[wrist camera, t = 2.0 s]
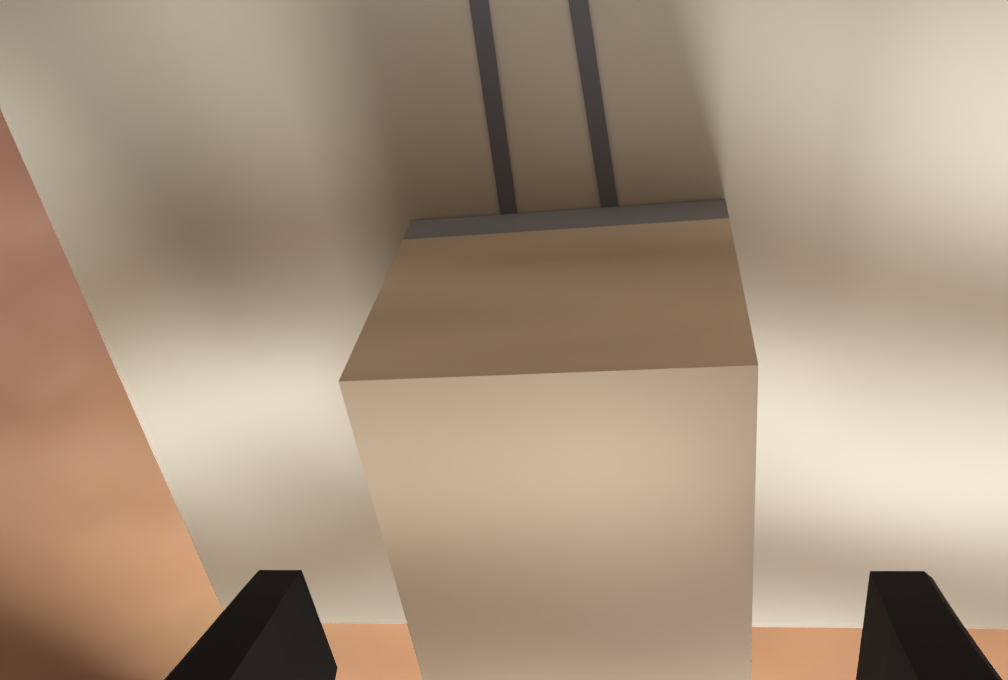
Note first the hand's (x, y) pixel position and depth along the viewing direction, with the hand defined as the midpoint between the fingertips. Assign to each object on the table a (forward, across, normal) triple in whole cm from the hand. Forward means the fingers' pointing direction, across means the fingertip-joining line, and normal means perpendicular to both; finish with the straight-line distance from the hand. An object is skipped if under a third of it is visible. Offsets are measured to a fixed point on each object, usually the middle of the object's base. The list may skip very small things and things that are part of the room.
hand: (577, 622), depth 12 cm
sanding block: (+4, 0, 0) cm, 4 cm away
